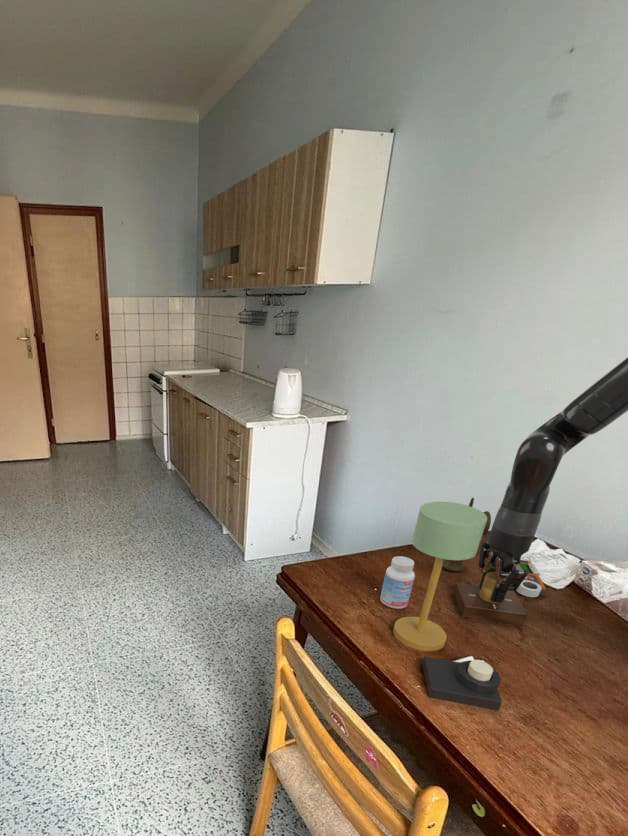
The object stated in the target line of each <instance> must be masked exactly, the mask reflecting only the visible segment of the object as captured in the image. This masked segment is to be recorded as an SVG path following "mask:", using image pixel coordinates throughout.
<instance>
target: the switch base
mask: <svg viewBox="0 0 628 836" xmlns="http://www.w3.org/2000/svg"><path fill="white" fill-rule="evenodd" d="M471 661H472V660H465V661H461V662H460V661H454V660H448V659H442V658H436V657H432V656H431V657H429V656H424V657H423V661H422V664H421V666H422V670H423V675H424V680H425V681H424V682H425V686H426V691H427V695H428V698H430V699H435V700H440V701H445V702H450V703H451V702H452V703H455V704H461V705H466V706H471V707H476V708H482V709H488V710H494V711H500V708H501V706H502V703H503V701H502V698H501V695H500V692H499V690H498V689H499V687H500V684H501V681H502V679H501V676H500V673H499V672H498V671H497V670H495V669H494V668H493V673H492V676H491V678H490V680H488V681H480V680H477V679H475V678H473V677H471V676H470V675H469V674H468V671H467V670H468V667H469V665H470V662H471Z"/></svg>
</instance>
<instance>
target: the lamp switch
mask: <svg viewBox="0 0 628 836" xmlns="http://www.w3.org/2000/svg"><path fill="white" fill-rule="evenodd" d="M470 661H471V662H470V665H469V667H468V670H467V671H468V674H469V675H470V676H471V677H473V678H475V679H477V680H480V681H488V680H490V678H491V676H492V673H493V669H494V668H493V667H492V665H490V664H489V663H488V662H485V661H483V660H477V659H476V660H475V659H474V660H470Z"/></svg>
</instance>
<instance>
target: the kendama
mask: <svg viewBox="0 0 628 836" xmlns="http://www.w3.org/2000/svg"><path fill="white" fill-rule="evenodd" d="M474 501H475V498H474V497H471V499H470V501H469V503H468V506H470V507H474ZM482 512H483V513H484V514H485V515H486V516H487V522H486V525H485V528H484V532H483V535H482V536H486V535H487V534H488V532H489V531H490V528H491V524H492V515H491V513H490V511H489V510H486V511H482ZM463 561H464V560H447V559H444V562H443V565H442V568H443V569H445V570H446V571H449V572H455V573H460V572H462V571H464V570H465V567H464V564H463Z"/></svg>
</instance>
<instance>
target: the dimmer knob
mask: <svg viewBox="0 0 628 836" xmlns="http://www.w3.org/2000/svg"><path fill="white" fill-rule="evenodd" d="M505 581H506V578H504V579H503V580H502V583H504V582H505ZM496 582H497V577H495V572H488V573H486V575H485V578H484V581H483V584H482V587H481V590H480V593H479V597H480V598H481V599H483V600H485V601H487V602H491V603H498V602H492V601H491V597H492V594H493V592H494V589H495V587H496Z"/></svg>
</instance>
